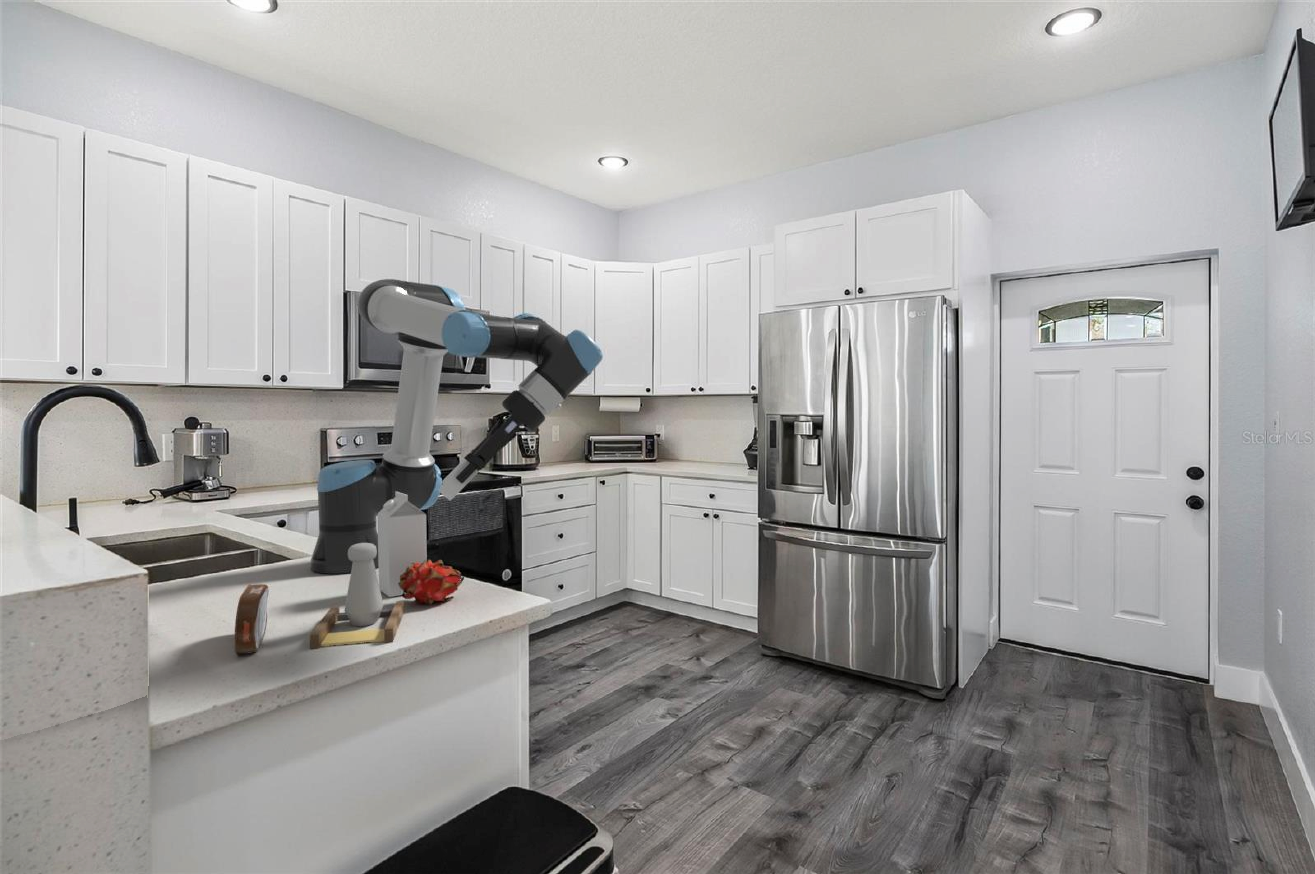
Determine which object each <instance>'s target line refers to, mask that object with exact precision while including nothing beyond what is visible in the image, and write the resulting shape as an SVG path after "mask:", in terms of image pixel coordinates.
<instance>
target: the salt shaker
mask: <svg viewBox="0 0 1315 874" xmlns="http://www.w3.org/2000/svg"><path fill="white" fill-rule="evenodd" d="M376 555H377V549H376V546H375V545H373V544H371V543H358V544H355V545H352V546H351V547H350V548H349V549H348V558H349V560H351V561H353V563H352V570H351V573H350V577H349V583H348V588H347V589H348V590H347V593H346V599H345V605H344V612H345V614H346V615H347V617H348V618H349V619H348V620H349V621H350V624H351V625H352V626H355V627H366V626H370V625H374V624H375V623H376V622H377V621H378V620H379V618H380V617H379V616H380V614H381V611H382V610H384V609H383V608H384V602H383V597H382V591H381V590H380V588H379V578H378V575H377V570H376V568H375V565H374V561H373V559H374V558H375V557H376Z"/></svg>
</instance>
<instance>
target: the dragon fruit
mask: <svg viewBox="0 0 1315 874" xmlns="http://www.w3.org/2000/svg"><path fill="white" fill-rule="evenodd" d="M412 564H414V566H413V567H412V566H410V567H407V569H406V572H404V573H403V574H402V575H400V582H399V583H398V584H399V587H400V588H401V589H402V590H403V591H404V592H405V593H406V594H405V593H404V592H403V594H402V595H401V597H402V598H404V599H405V600H410V599H415V603H416V604H417V605H420V604H422V603H425V604H428V605H432V604H433V603H434V602H442V603H443V602H444V603H445V602H446V601H447V602H450V601H451V600H452V599H454V596H450V595H452V594H454V593H455V592H456V591H458V587H459V586H460V585H461V584H463V581H464V580H465V576H463V574H462V573H461V572H460V571H459V570H457V569H453V567H452V566H451V565H450V566H449V565H444V562H443V560H442V559H438V560H437V561H436V562H432V560H431V559H427V561H426V560H425V561H423V563H422V564H419V563H417V562H414V563H412Z"/></svg>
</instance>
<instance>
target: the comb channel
mask: <svg viewBox="0 0 1315 874" xmlns="http://www.w3.org/2000/svg"><path fill="white" fill-rule="evenodd" d="M340 611H341V610H340V605H334V606H332V605H331V607H330V608H328V611H327V612H326V613H325V614H324V616H323V617H322V619H320V621H319V623H318V624H317V625H316V626H315V628H314V629H313V630H312V632H311V633H310V635H309V649H310V650H311V649H312V648H314V649H320V648H321V643H322V641H323V640H324V638H325V637H326V635H327V634H328V633H331V631H332V630H331V629H333V628H334V627H335V625H336V624H337V622H338V621H345V620H346V619H347V620H349V618H348V617H347V615H346V614H345V611H344V612H340ZM404 614H405V603H404V600H402V601H401V600H400V601H396V602H395V604H394V606H393V608H390V609H389V608H388V609H387V608H386V609H382V611H381V614H380V616H379V618H385V617H386V618H387V617H389V618H388V620H387V621H386V625H385V627H384V628H383V629H384V640H385V641H384V643H393V642H394V641H395V638H394V637H396V635H397V632H398V630H399V627H400V624H401V621H402V619H403V616H404ZM344 619H345V620H344ZM347 620H346V621H347ZM335 623H336V624H335ZM397 629H398V630H397ZM393 640H394V641H393Z"/></svg>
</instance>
